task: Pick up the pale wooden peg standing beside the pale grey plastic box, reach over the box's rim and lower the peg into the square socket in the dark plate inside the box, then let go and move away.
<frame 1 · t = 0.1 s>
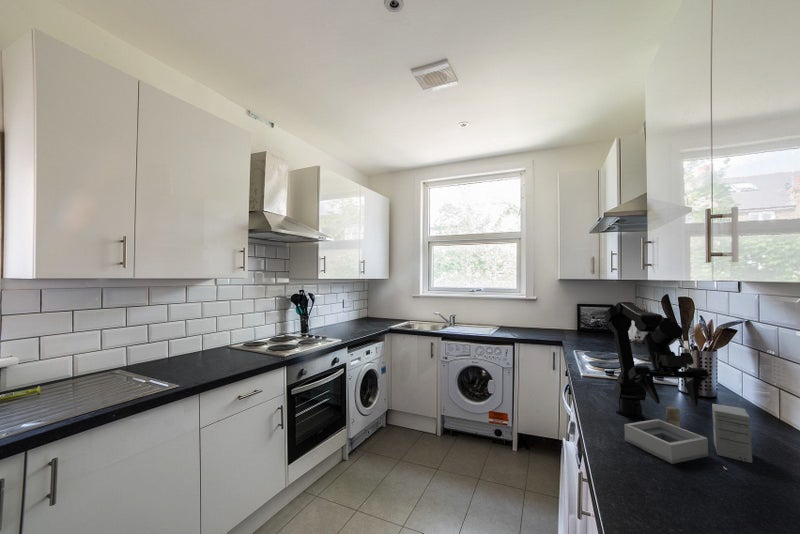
hand: (677, 404, 95), 15 cm above the countertop, tool tilted 35°, fingers open, 9 cm apart
grey box: (664, 448, 100), on the countertop
wooden peg: (673, 430, 112), on the countertop
supplement box: (732, 454, 96), on the countertop
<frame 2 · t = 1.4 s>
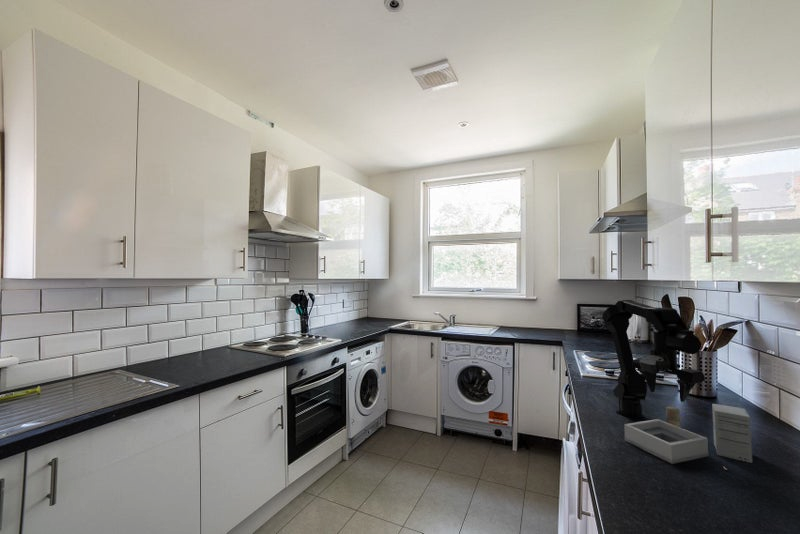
hand: (666, 396, 107), 13 cm above the countertop, tool pointing down, fingers open, 9 cm apart
nothing on the countertop moved.
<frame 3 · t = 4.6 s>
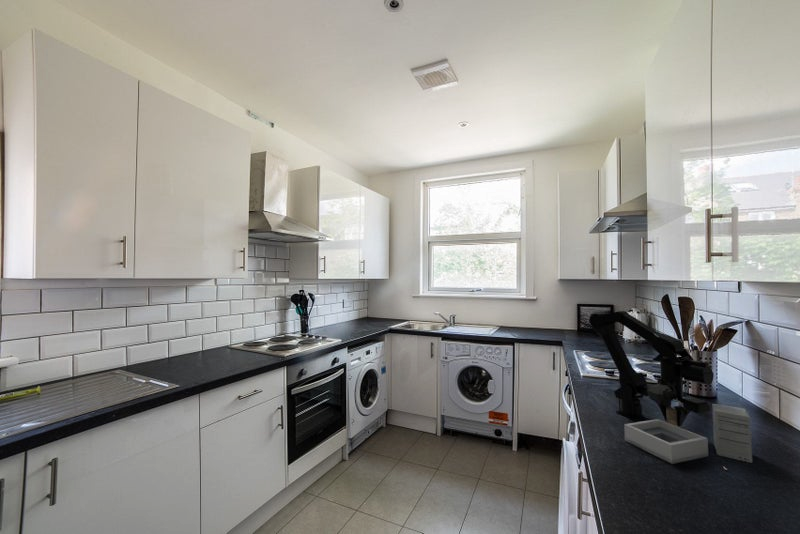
hand: (673, 423, 112), 2 cm above the countertop, tool pointing down, fingers closed on wooden peg, 3 cm apart
wooden peg: (673, 430, 112), on the countertop, touching gripper
everything else where it was.
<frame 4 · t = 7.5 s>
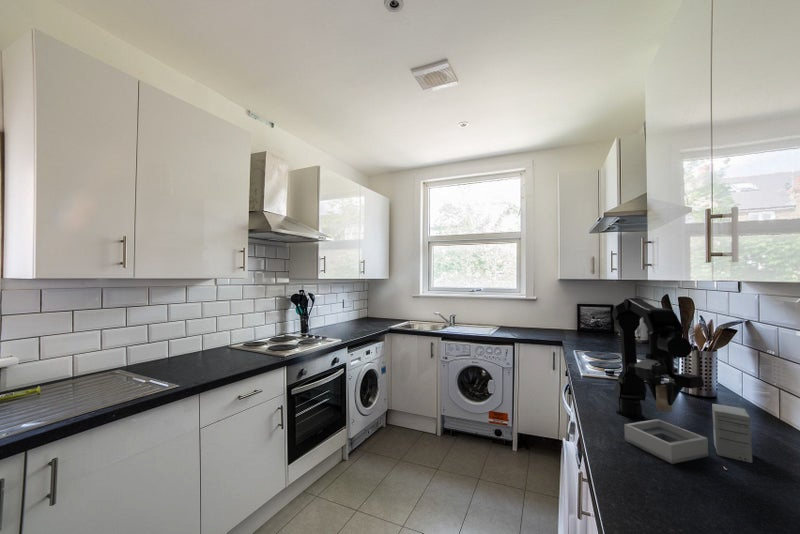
hand: (663, 403, 101), 13 cm above the countertop, tool pointing down, fingers closed on wooden peg, 3 cm apart
wooden peg: (664, 409, 101), point 11 cm above the countertop, touching gripper
everything else where it was.
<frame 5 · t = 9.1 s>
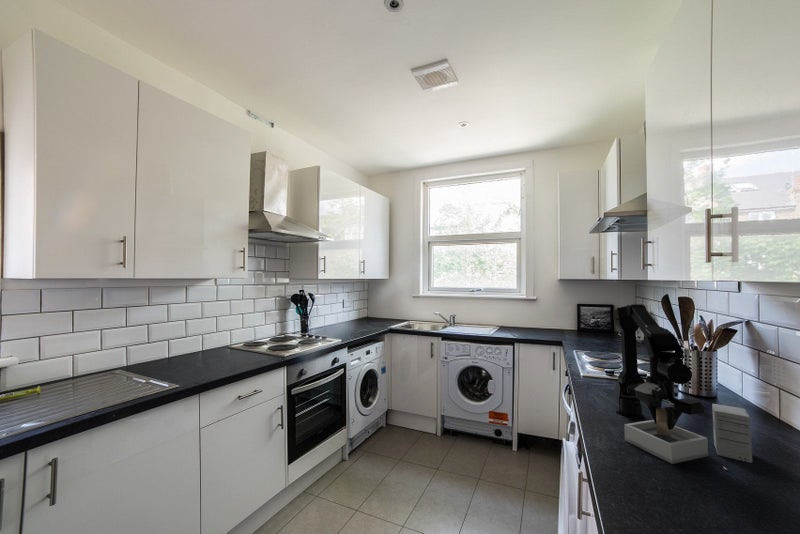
hand: (663, 426, 100), 6 cm above the countertop, tool pointing down, fingers closed on wooden peg, 3 cm apart
wooden peg: (664, 433, 100), point 4 cm above the countertop, touching gripper
everything else where it was.
when the fingers open (4 cm above the countertop, at t = 10.4 s): wooden peg stays where it is, resting on grey box.
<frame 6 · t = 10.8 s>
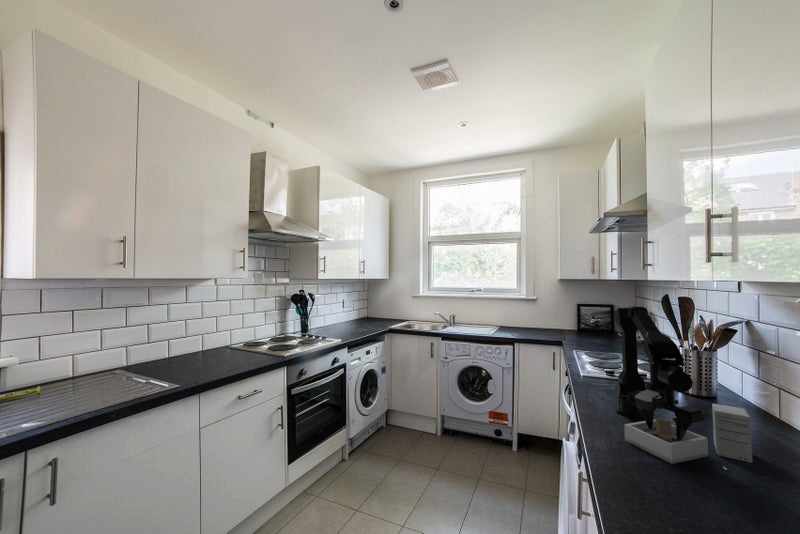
hand: (664, 434, 100), 4 cm above the countertop, tool pointing down, fingers open, 8 cm apart
wooden peg: (664, 444, 100), point 1 cm above the countertop, touching grey box
everything else where it was.
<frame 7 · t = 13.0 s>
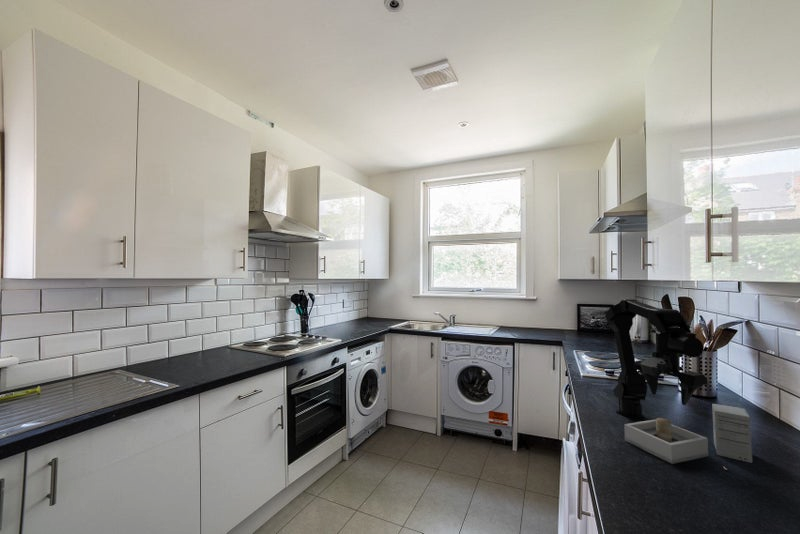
hand: (668, 399, 105), 13 cm above the countertop, tool pointing down, fingers open, 9 cm apart
nothing on the countertop moved.
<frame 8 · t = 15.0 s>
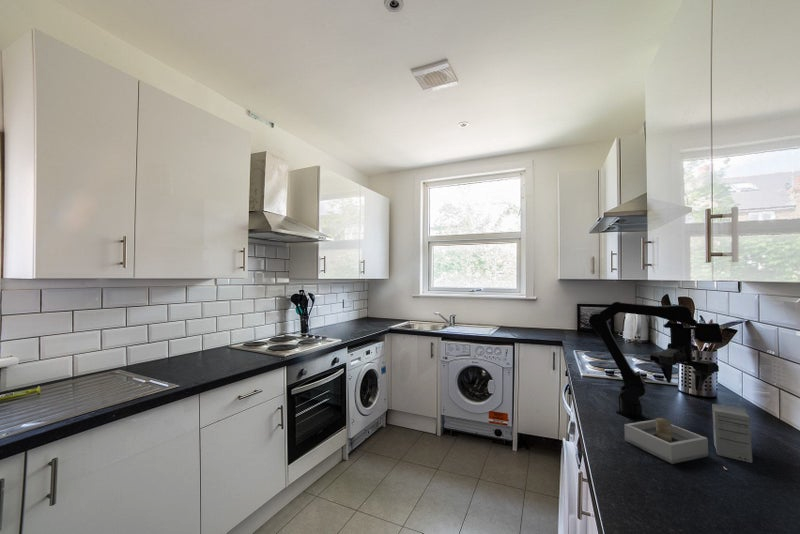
hand: (682, 386, 116), 13 cm above the countertop, tool pointing down, fingers open, 9 cm apart
nothing on the countertop moved.
at the end: wooden peg 0.1 cm off-centre on the grey box, point 1.0 cm above the grey box's base; wooden peg tilted 2°; the gripper is holding nothing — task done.
